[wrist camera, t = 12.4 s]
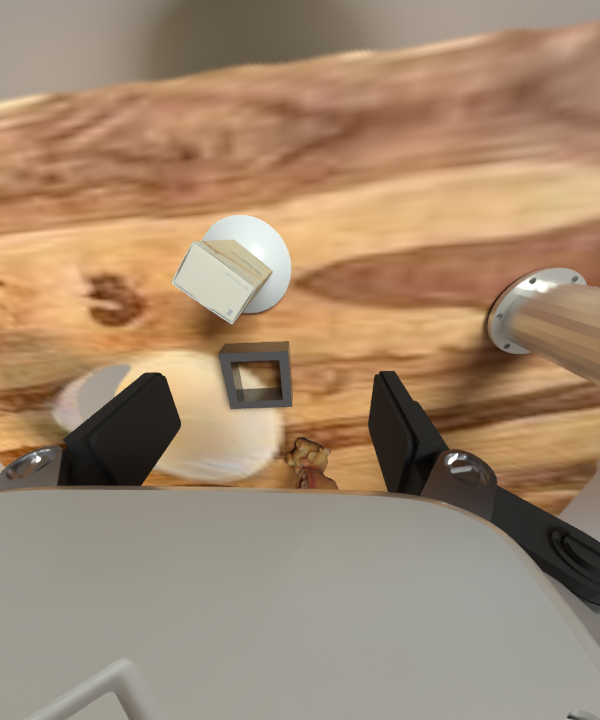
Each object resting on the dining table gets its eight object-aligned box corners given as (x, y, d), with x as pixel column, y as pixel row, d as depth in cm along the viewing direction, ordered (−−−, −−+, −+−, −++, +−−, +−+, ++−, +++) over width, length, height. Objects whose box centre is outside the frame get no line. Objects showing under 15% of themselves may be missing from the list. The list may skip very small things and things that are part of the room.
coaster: (288, 213, 29) (288, 212, 28) (293, 309, 34) (293, 311, 34) (191, 218, 29) (187, 217, 28) (212, 313, 35) (209, 315, 34)
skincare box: (273, 270, 31) (260, 288, 20) (255, 297, 33) (233, 327, 22) (232, 237, 29) (193, 237, 18) (214, 267, 31) (169, 283, 20)
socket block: (289, 341, 37) (288, 350, 34) (292, 393, 41) (292, 406, 38) (225, 343, 37) (218, 353, 34) (236, 396, 42) (230, 408, 38)
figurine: (299, 429, 45) (322, 512, 33) (331, 434, 48) (363, 511, 36) (279, 461, 49) (293, 545, 37) (310, 464, 52) (332, 542, 40)
